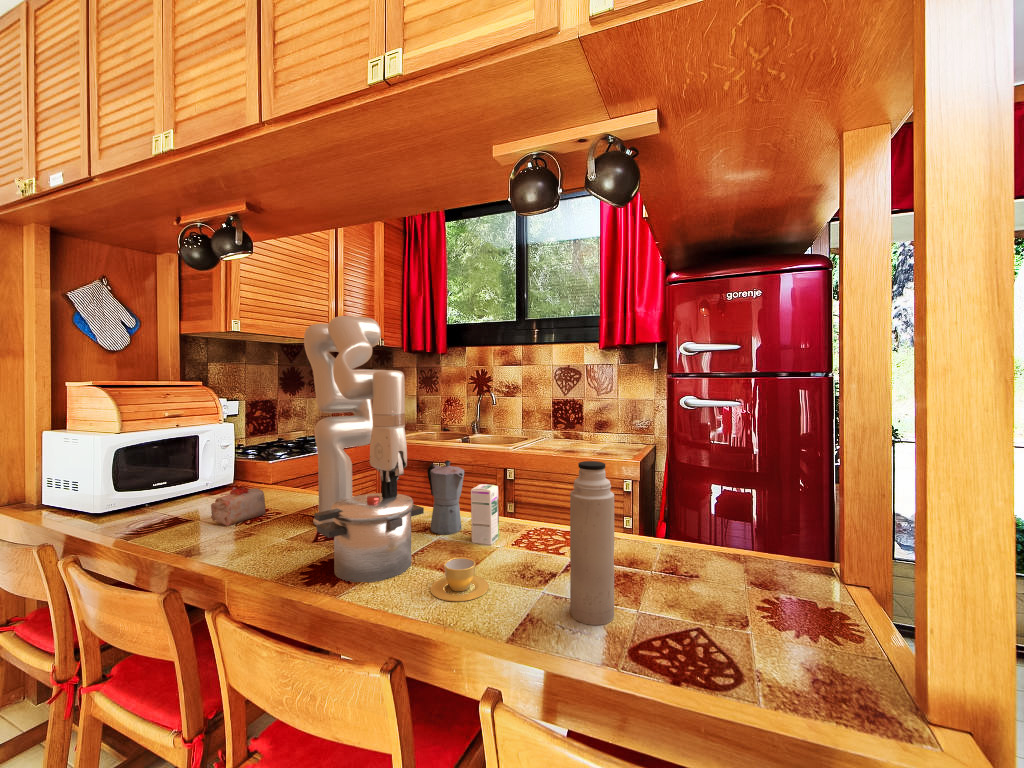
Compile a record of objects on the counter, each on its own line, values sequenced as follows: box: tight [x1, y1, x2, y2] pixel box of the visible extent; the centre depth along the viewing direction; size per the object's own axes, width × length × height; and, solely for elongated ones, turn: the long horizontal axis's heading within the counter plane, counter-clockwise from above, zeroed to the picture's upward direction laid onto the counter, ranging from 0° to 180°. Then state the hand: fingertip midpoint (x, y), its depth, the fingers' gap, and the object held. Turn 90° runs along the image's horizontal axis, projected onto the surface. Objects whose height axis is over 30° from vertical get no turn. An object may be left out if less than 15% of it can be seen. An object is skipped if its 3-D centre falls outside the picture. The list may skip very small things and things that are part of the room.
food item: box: [210, 487, 267, 527], centre depth 141 cm, size 14×8×10 cm, turn 157°
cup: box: [430, 556, 490, 602], centre depth 95 cm, size 12×12×5 cm
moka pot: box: [426, 460, 465, 535], centre depth 131 cm, size 10×15×20 cm, turn 53°
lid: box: [314, 492, 414, 522], centre depth 105 cm, size 18×22×3 cm
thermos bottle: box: [569, 460, 615, 626], centre depth 85 cm, size 8×8×28 cm
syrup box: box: [470, 483, 500, 546], centre depth 123 cm, size 6×6×14 cm
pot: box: [316, 503, 425, 583], centre depth 106 cm, size 18×24×13 cm
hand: (389, 496), depth 111 cm, fingers closed
